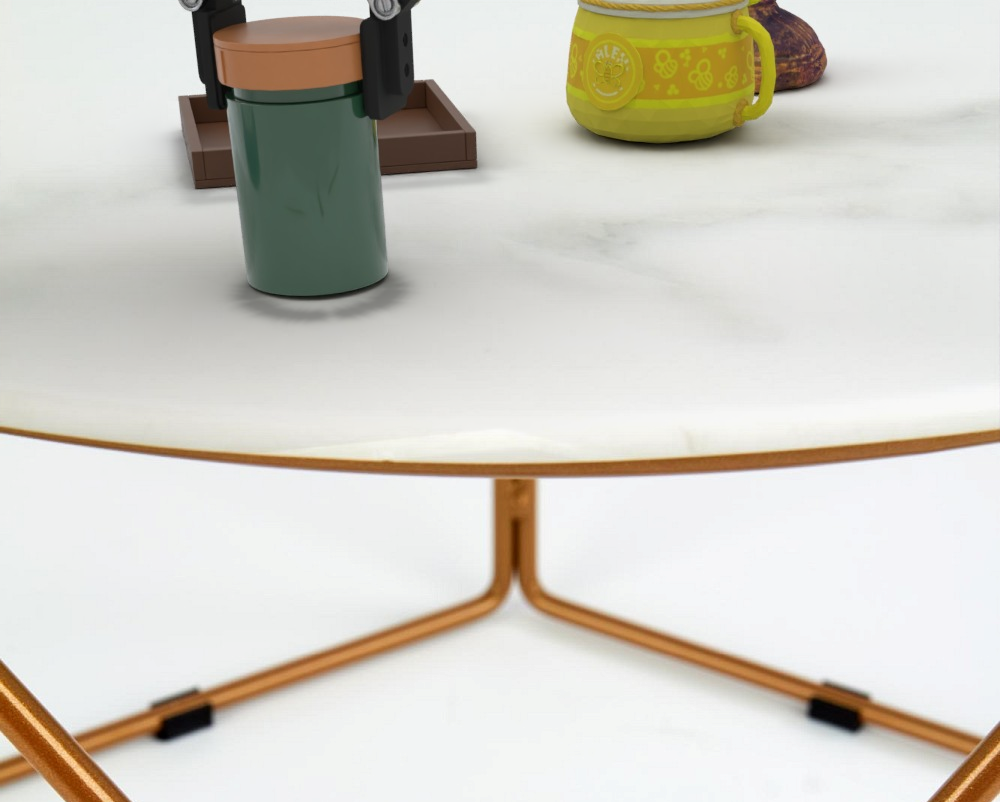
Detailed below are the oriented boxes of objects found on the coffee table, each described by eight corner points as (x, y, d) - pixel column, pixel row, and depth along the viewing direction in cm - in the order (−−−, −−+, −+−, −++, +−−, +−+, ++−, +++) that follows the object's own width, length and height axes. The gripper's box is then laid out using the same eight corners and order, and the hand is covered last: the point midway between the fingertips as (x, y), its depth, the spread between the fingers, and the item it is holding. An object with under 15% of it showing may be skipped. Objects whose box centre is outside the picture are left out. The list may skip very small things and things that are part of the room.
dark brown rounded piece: (782, 103, 104) (791, -27, 100) (608, 83, 109) (610, -42, 105) (855, 66, 112) (866, -56, 108) (690, 48, 117) (695, -68, 113)
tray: (195, 188, 90) (191, 151, 89) (181, 129, 101) (177, 95, 100) (477, 167, 93) (476, 131, 92) (434, 111, 104) (433, 78, 103)
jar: (386, 292, 75) (368, 60, 70) (240, 299, 75) (211, 67, 70) (390, 251, 81) (373, 32, 75) (254, 258, 81) (228, 40, 75)
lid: (259, 98, 69) (254, 50, 68) (190, 75, 74) (185, 30, 73) (406, 73, 72) (403, 28, 71) (331, 53, 77) (327, 10, 76)
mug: (526, 135, 98) (524, -96, 92) (632, 98, 106) (638, -119, 99) (718, 169, 92) (730, -78, 85) (817, 126, 99) (836, -104, 92)
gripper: (16, -376, 64) (89, 116, 74) (447, -388, 59) (464, 141, 69) (117, -378, 70) (172, 79, 80) (517, -389, 65) (524, 99, 75)
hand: (307, 104), depth 75 cm, fingers closed on lid, 6 cm apart
